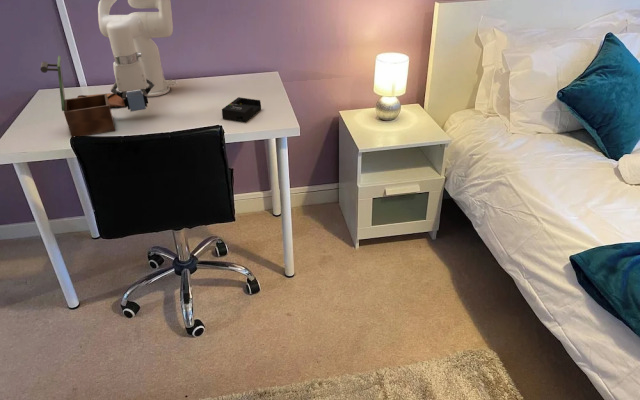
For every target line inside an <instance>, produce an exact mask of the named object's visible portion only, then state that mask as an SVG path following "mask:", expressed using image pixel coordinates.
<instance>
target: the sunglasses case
mask: <svg viewBox="0 0 640 400" xmlns="http://www.w3.org/2000/svg"><path fill="white" fill-rule="evenodd" d="M120 92H121V91H120ZM121 93H122V92H121ZM101 94H102V93H97V94H95V95H101ZM106 94H107V97H108V101H109V105H110V109H115V108H121V107H125V103H124V99H122V98H121V97H119V96H118V95H116V94H114V93H112V92H111V93H106ZM93 95H94V94H88V95H86V94H85V95H83V94H80V95H78V96H77V97H76V98H79V97H86V96H93Z"/></svg>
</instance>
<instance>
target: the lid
mask: <svg viewBox="0 0 640 400" xmlns="http://www.w3.org/2000/svg"><path fill="white" fill-rule="evenodd" d="M54 67H55V68H54ZM40 71H41V73H47V72H57V75H58V87H59V94H60V95H59V96H60V105H61V112H64V111H65V99H66V93H65V84H64V83H65V82H64V75H63V65H62V56H61V55H57V63H49V62H47V61H42V62H41V64H40Z"/></svg>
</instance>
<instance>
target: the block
mask: <svg viewBox="0 0 640 400" xmlns="http://www.w3.org/2000/svg"><path fill="white" fill-rule="evenodd" d="M126 97H127V99H128V103H129V107H130V109H129V110H130V112H137V111H143V110H147V107H146V106H145V102H144V98H143V94H142V91H141V90H133V91H127V93H126Z"/></svg>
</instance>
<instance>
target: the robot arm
mask: <svg viewBox="0 0 640 400" xmlns="http://www.w3.org/2000/svg"><path fill="white" fill-rule="evenodd" d="M116 2H118V0H99V2H98V5H97V18H98V28H99V31H100V33H101V35H102V36H103V37H105V38H108V39H109V44H110V47H111V52H112V55H113V60H114V62H113V63H112V67H113V68H112V69H113V75H114V80H115V82H114V83H113V85H112V87H111V89H110V92H111V93H114V94H116V95H118V96H119V97H121V98H122V99H124V103H125V106H124V107H125V108H126V107H127V110H130V107H129V103H128V99H127V95H126V93H127V92H131V91H138V90H141V91H142V94H143V98H144V102H145V107H146V108H147V107H148V104H149V99H148V97H158V96H162V95H163V96H164V95H165V94H167V93H169V92H170V91H171V89H170V86H177V80H173V79H166V78H165V76H164V71H163V65H162V61H161V60H162V59H161V56H160V55H161V54H160V50H159V49H160V48H159V47H158V45H157V44H156V42H155V41H154V40H153V39H157V38H158V39H161V38H169V37H171V36H172V35H173V33H174V24H173V12H172V2H171V0H127V3H128V5H129V7H131V8H133V9H138V10H139V9H144V10H145V9H157V10H158V11H135V12H130V13H129V14H110V12H111V9H112V7H113V5H114V4H115V3H116ZM121 92H122V93H121Z"/></svg>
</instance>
